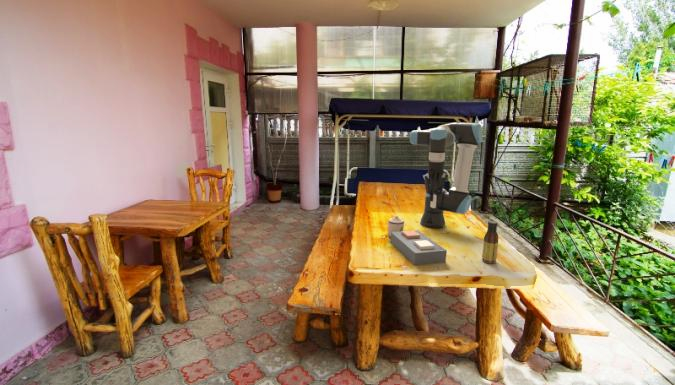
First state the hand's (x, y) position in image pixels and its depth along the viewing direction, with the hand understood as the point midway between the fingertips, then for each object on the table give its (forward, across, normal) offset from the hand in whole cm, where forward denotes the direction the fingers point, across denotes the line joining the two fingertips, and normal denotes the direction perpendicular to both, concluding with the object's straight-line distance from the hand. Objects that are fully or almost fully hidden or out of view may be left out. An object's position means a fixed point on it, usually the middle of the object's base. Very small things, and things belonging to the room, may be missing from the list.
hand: (432, 207), depth 162 cm
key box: (+22, -10, -4) cm, 24 cm away
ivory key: (+18, -10, -11) cm, 23 cm away
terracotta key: (+18, -10, +3) cm, 21 cm away
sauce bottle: (+22, +19, -21) cm, 36 cm away
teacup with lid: (+23, -10, +21) cm, 33 cm away
